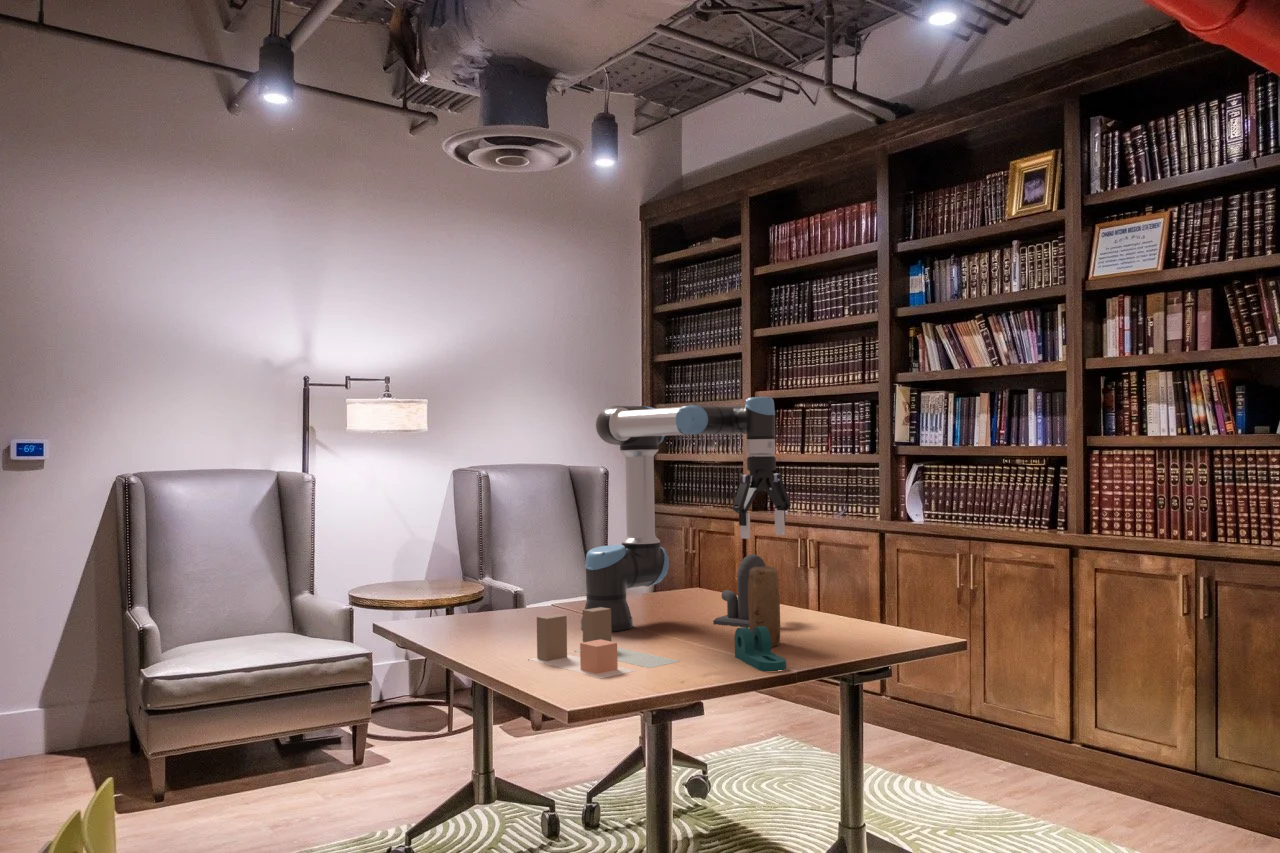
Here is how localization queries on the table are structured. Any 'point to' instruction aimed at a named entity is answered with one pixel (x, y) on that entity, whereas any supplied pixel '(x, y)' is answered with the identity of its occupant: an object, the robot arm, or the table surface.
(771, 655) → the bracket
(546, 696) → the table surface
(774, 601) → the block
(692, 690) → the table surface
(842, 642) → the table surface
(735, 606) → the faucet
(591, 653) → the cube
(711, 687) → the table surface
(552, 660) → the cube strip
